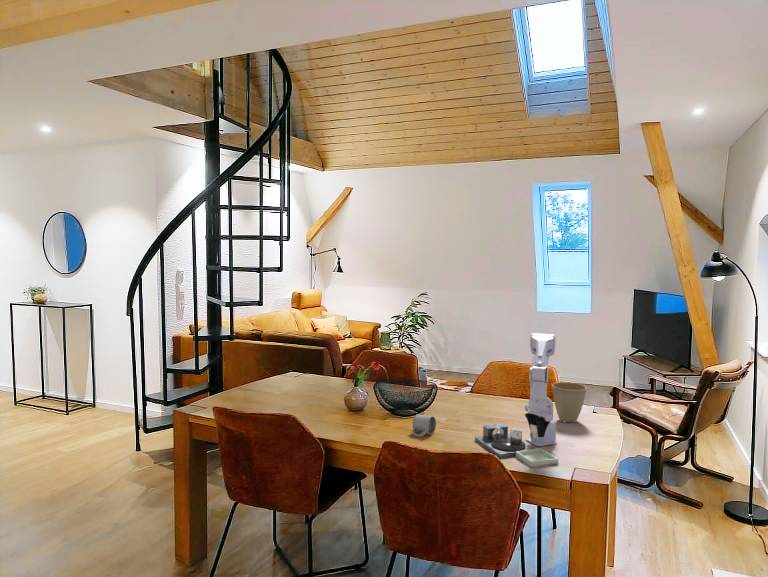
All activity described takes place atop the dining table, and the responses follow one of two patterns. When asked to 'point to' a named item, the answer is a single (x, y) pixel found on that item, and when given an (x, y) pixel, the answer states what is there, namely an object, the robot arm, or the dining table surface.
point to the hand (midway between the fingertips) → (537, 434)
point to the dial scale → (500, 441)
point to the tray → (536, 457)
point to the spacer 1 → (516, 436)
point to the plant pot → (568, 400)
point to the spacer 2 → (534, 431)
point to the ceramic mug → (424, 425)
